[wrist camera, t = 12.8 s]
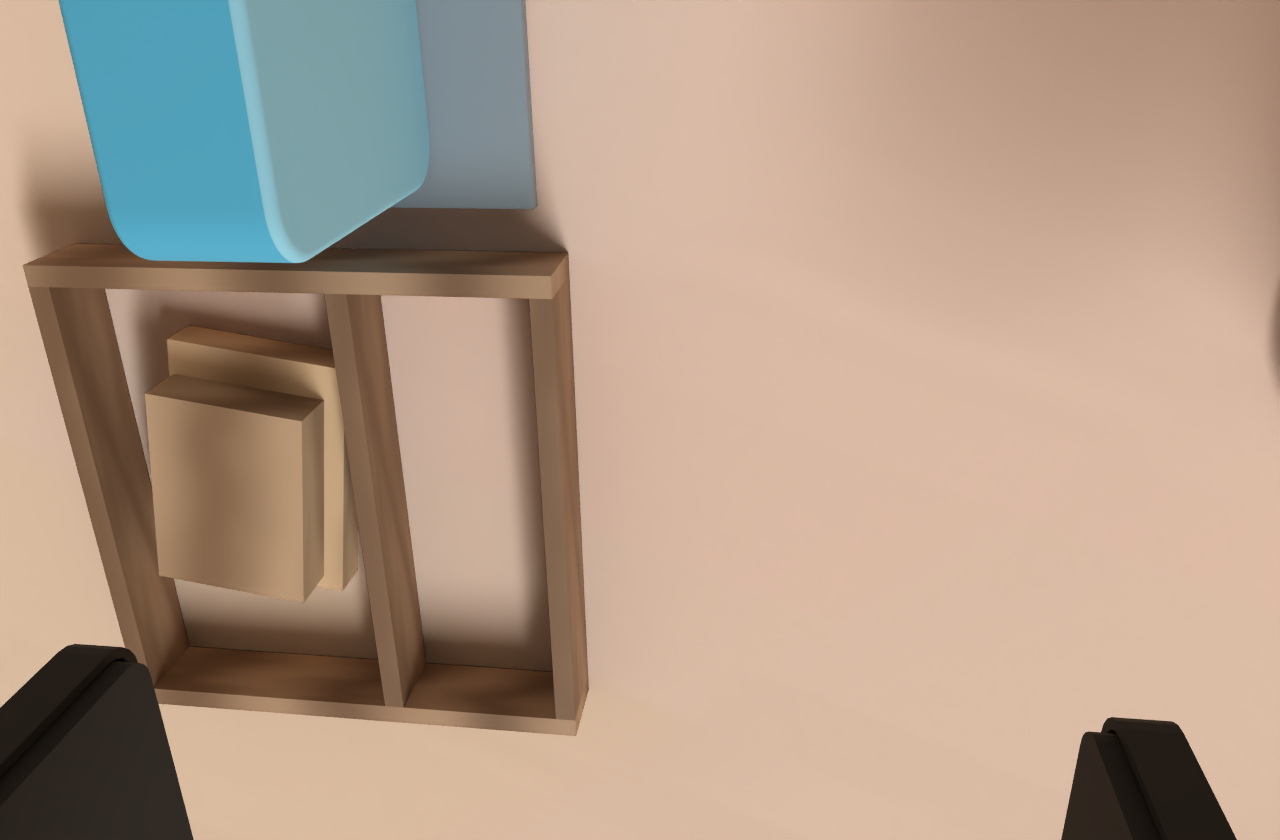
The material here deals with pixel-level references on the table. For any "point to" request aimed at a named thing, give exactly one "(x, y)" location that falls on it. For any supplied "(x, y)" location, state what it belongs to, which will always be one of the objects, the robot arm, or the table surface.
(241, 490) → the offcut stack
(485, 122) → the mat
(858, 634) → the table surface
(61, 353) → the rack
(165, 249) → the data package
